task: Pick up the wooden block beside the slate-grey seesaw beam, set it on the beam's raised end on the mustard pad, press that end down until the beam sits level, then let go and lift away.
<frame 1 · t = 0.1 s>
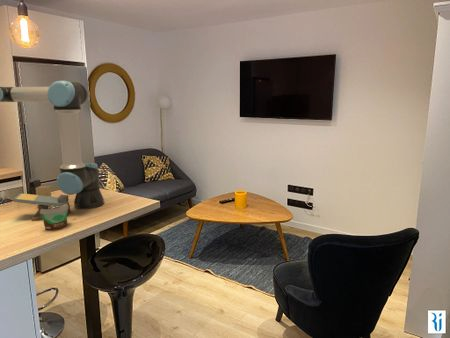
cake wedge: (59, 228, 150), on the breakfast bar
phone stand: (37, 201, 189), on the breakfast bar
beam stand: (44, 215, 165), on the breakfast bar
beam: (42, 198, 164), point 9 cm above the breakfast bar, hinge at -12.0°
wooden block: (45, 206, 180), on the breakfast bar
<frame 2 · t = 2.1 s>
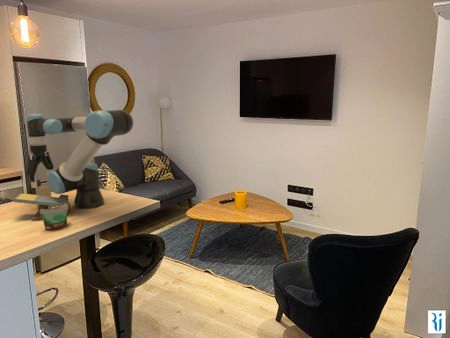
hand: (42, 184, 177), 12 cm above the breakfast bar, tool pointing down, fingers open, 13 cm apart
nothing on the breakfast bar moved.
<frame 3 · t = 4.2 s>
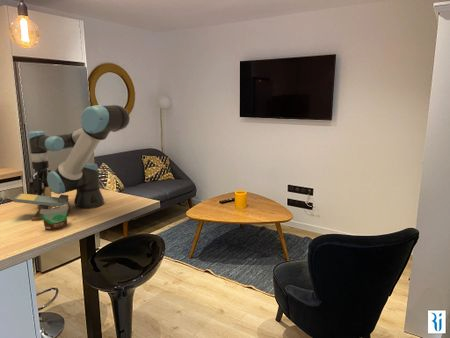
hand: (44, 203, 179), 2 cm above the breakfast bar, tool pointing down, fingers closed on wooden block, 5 cm apart
wooden block: (45, 206, 180), on the breakfast bar, touching gripper
everything else where it was.
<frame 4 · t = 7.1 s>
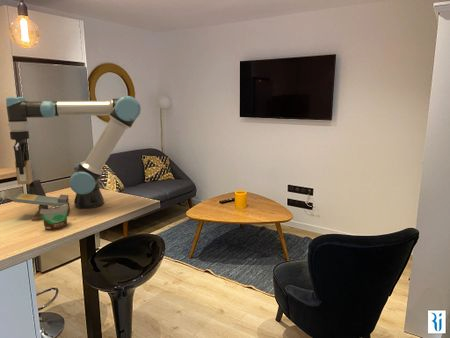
hand: (24, 179, 160), 19 cm above the breakfast bar, tool pointing down, fingers closed on wooden block, 5 cm apart
wooden block: (25, 183, 160), point 17 cm above the breakfast bar, touching gripper
everything else where it was.
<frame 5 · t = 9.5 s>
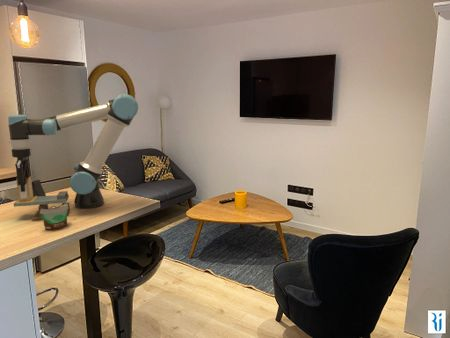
hand: (26, 196, 161), 11 cm above the breakfast bar, tool pointing down, fingers closed on wooden block, 5 cm apart
beam: (42, 198, 164), point 9 cm above the breakfast bar, hinge at -0.2°, touching wooden block
wooden block: (26, 199, 162), point 9 cm above the breakfast bar, touching beam, gripper
everything else where it was.
when the fingers open (11 cm above the breakfast bar, at t = 10.2 s): wooden block stays where it is, resting on beam.
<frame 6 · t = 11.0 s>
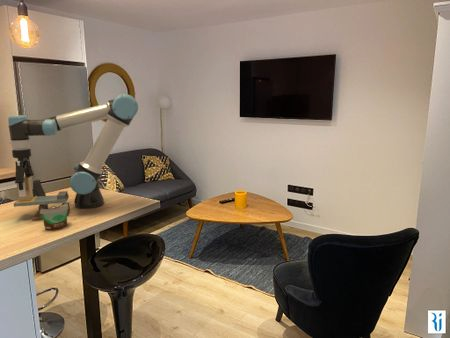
hand: (26, 192, 161), 12 cm above the breakfast bar, tool pointing down, fingers open, 13 cm apart
wooden block: (26, 199, 162), point 9 cm above the breakfast bar, touching beam
everything else where it was.
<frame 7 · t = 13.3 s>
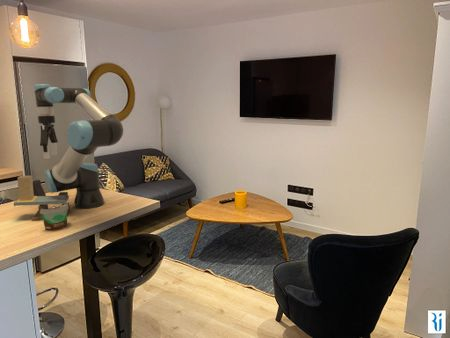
hand: (50, 156, 175), 27 cm above the breakfast bar, tool pointing down, fingers open, 13 cm apart
beam: (42, 198, 164), point 9 cm above the breakfast bar, hinge at -2.7°, touching wooden block
everything else where it was.
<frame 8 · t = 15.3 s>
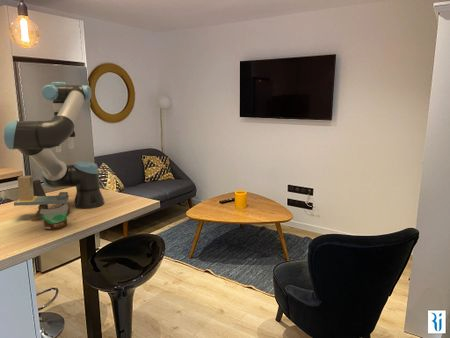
hand: (65, 150, 186), 29 cm above the breakfast bar, tool pointing down, fingers open, 13 cm apart
nothing on the breakfast bar moved.
at the end: beam at -2° (first picture: -12°); wooden block inside the target area on the beam (0.5 cm from its centre), point 1.1 cm above the beam's base; the gripper is holding nothing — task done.
